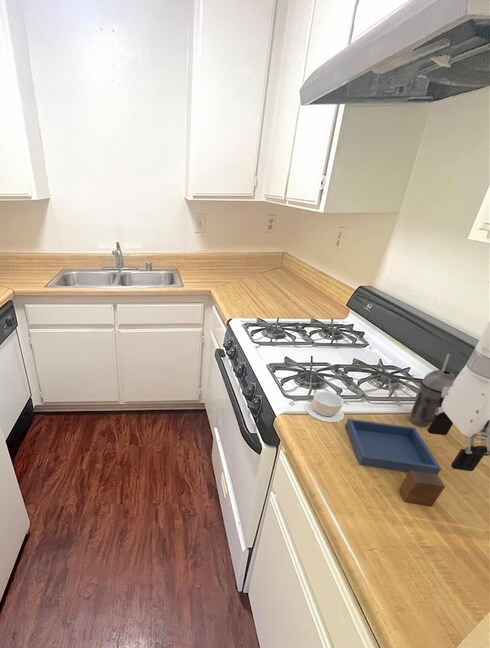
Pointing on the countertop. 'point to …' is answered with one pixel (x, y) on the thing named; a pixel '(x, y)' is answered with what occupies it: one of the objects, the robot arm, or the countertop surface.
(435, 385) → the beverage cup
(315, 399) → the teacup
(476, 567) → the countertop surface
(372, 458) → the tray
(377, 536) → the countertop surface
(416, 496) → the block
